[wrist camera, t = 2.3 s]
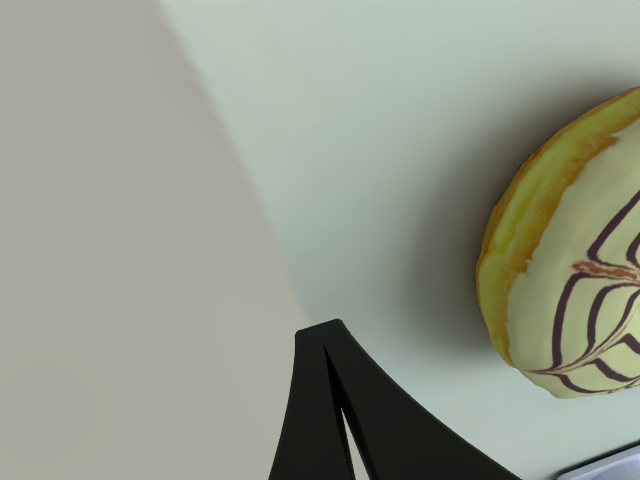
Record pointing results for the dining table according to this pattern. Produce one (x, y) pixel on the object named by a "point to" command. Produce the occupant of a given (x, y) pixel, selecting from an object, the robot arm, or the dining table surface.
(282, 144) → the dining table surface
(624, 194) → the decorated donut
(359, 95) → the dining table surface
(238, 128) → the dining table surface
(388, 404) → the robot arm
